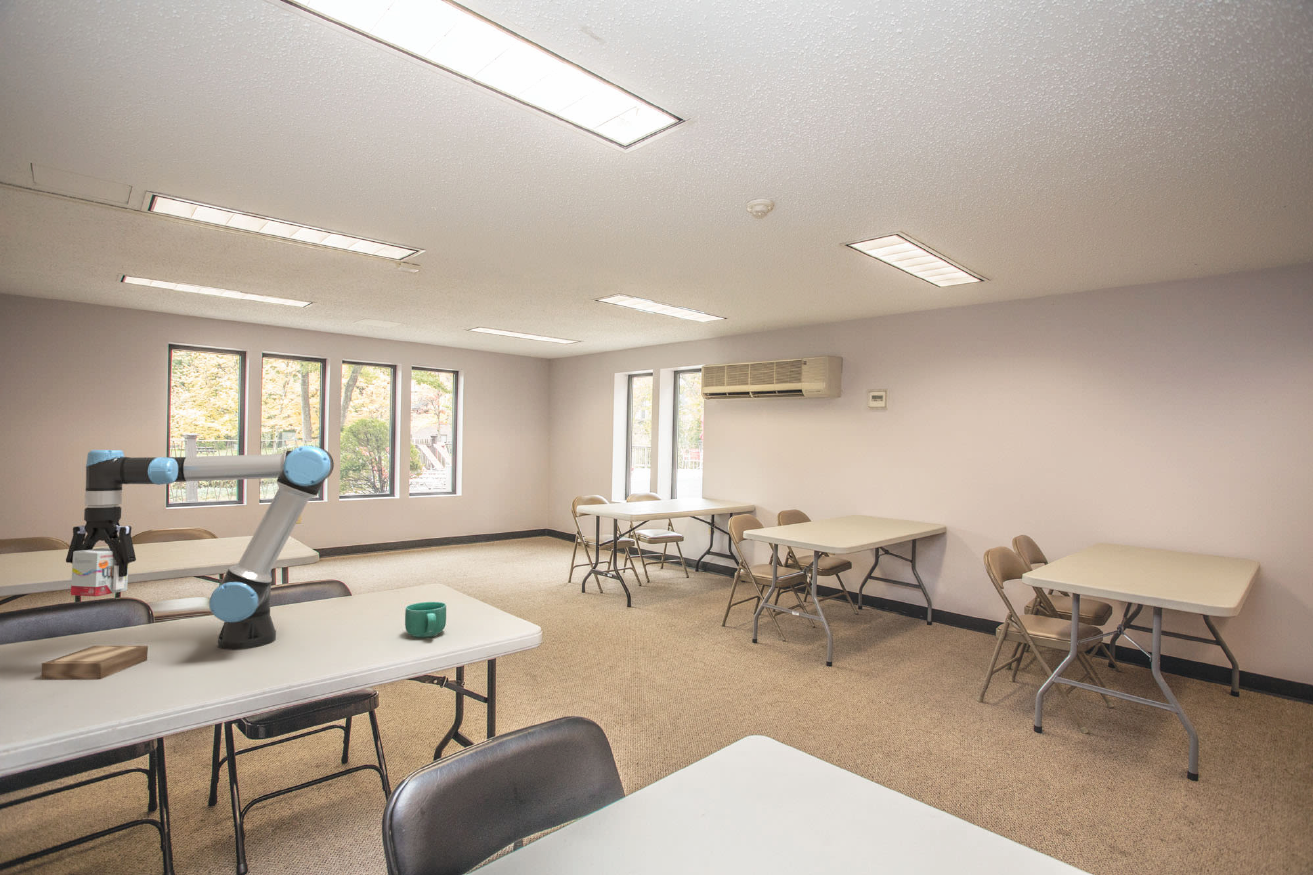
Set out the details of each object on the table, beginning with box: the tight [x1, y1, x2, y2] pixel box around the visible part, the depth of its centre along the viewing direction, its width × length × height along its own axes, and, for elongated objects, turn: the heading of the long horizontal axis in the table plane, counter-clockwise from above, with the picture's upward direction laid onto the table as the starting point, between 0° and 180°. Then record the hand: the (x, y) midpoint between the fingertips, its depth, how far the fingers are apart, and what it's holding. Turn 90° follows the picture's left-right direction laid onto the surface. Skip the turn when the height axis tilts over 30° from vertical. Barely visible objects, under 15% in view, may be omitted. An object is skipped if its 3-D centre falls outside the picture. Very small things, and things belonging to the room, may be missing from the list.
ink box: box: [70, 547, 130, 598], centre depth 167 cm, size 9×9×12 cm
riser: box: [40, 645, 149, 680], centre depth 166 cm, size 15×15×4 cm
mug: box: [404, 601, 447, 639], centre depth 198 cm, size 17×13×10 cm
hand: (99, 588), depth 167 cm, fingers closed on ink box, 9 cm apart
